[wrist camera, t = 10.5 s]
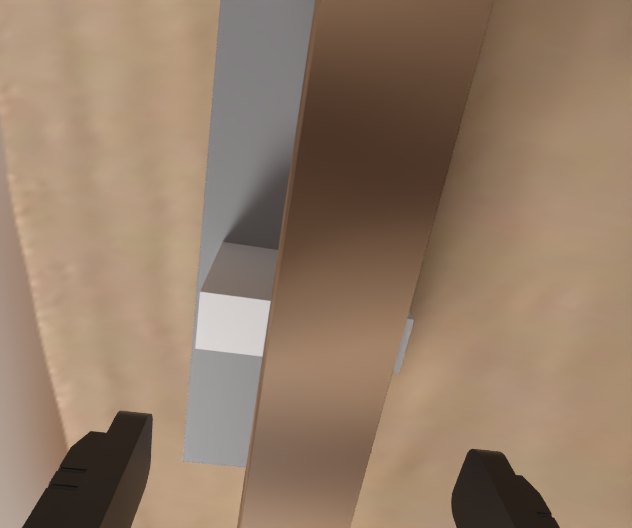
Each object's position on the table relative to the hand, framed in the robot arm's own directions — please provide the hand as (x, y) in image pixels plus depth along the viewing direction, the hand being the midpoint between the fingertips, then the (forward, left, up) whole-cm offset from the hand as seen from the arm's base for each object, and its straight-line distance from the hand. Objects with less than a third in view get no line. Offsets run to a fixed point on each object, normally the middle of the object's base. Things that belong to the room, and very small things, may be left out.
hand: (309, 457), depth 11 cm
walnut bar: (0, 0, -6) cm, 6 cm away
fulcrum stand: (0, 0, -13) cm, 13 cm away
